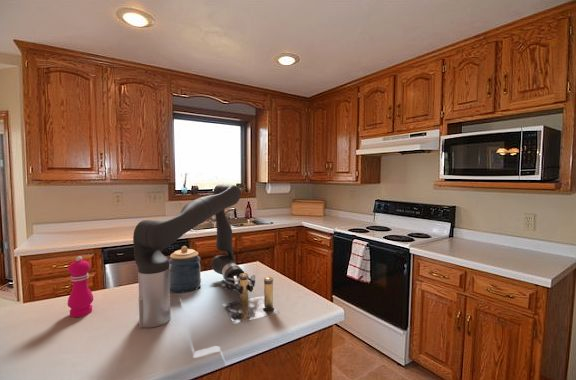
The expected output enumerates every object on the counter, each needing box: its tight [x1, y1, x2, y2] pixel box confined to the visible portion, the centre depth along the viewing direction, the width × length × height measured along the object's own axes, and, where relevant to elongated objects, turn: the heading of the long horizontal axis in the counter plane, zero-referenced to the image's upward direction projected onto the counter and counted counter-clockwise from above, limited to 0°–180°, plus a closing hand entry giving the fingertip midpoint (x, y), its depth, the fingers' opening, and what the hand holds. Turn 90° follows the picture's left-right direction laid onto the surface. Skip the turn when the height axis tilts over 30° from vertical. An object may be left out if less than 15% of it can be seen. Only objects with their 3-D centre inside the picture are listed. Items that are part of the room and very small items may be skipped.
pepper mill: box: [67, 255, 94, 318], centre depth 97 cm, size 7×7×20 cm
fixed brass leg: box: [263, 276, 274, 311], centre depth 98 cm, size 3×3×11 cm
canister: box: [169, 245, 202, 294], centre depth 120 cm, size 13×13×18 cm
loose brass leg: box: [239, 272, 249, 306], centre depth 102 cm, size 3×3×11 cm
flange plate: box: [222, 295, 281, 325], centre depth 99 cm, size 16×15×1 cm
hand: (246, 290), depth 99 cm, fingers closed on loose brass leg, 3 cm apart
